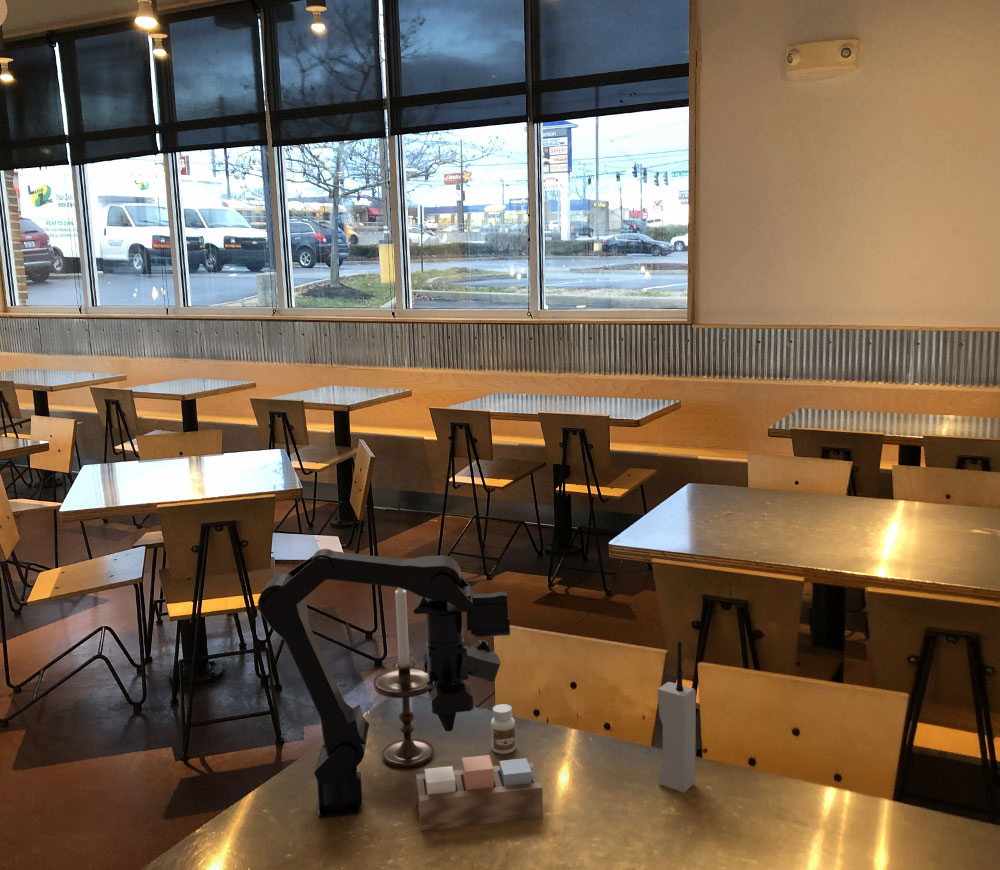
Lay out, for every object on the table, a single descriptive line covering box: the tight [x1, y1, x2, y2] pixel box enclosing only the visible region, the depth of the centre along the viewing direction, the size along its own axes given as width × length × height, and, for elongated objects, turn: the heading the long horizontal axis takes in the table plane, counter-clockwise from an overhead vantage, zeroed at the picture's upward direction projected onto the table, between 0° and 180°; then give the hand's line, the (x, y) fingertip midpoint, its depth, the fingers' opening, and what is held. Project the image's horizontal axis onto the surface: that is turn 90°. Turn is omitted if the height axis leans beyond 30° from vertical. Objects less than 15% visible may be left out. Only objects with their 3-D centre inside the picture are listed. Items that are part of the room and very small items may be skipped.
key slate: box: [499, 757, 532, 787], centre depth 149 cm, size 4×4×4 cm
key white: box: [424, 765, 456, 795], centre depth 147 cm, size 4×4×4 cm
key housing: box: [415, 761, 544, 832], centre depth 148 cm, size 19×8×5 cm, turn 99°
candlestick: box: [373, 587, 435, 770], centre depth 164 cm, size 11×11×35 cm
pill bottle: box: [490, 703, 517, 755], centre depth 168 cm, size 4×4×8 cm
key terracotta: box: [461, 754, 494, 791], centre depth 148 cm, size 4×4×4 cm
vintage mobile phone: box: [657, 640, 697, 794], centre depth 153 cm, size 4×5×25 cm
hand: (448, 730), depth 150 cm, fingers closed
